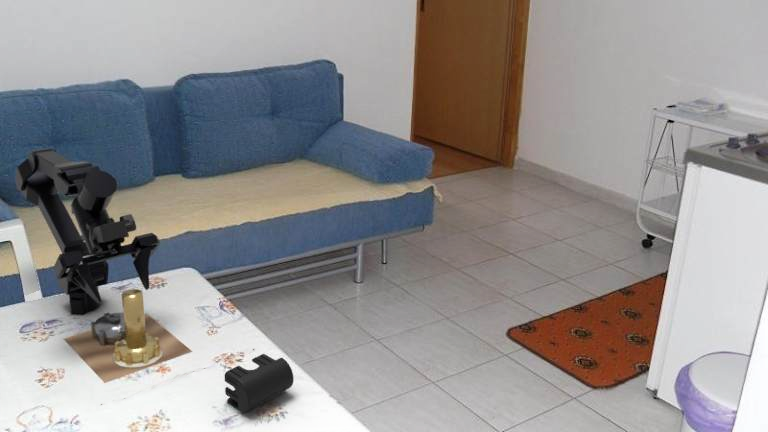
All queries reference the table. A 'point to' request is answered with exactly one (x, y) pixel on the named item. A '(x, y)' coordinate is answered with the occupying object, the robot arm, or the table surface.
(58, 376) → the table surface
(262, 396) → the end cap
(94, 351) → the carrier board
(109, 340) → the sun gear
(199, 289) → the table surface
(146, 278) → the robot arm
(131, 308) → the gear
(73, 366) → the table surface
